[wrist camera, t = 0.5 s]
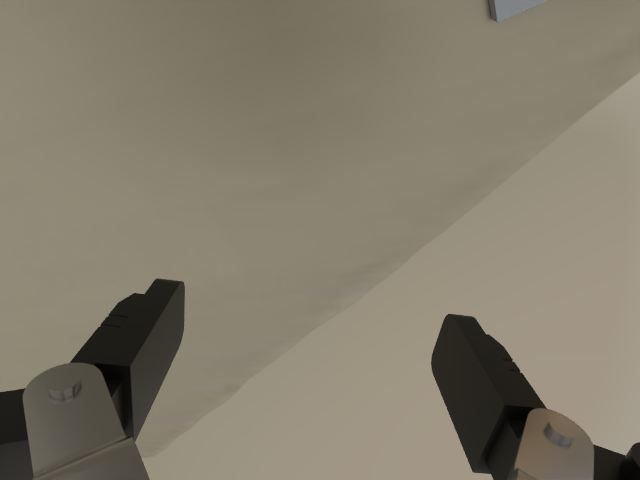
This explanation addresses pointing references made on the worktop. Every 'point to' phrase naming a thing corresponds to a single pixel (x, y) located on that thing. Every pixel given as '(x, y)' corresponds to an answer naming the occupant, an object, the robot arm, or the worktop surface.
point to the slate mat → (510, 7)
